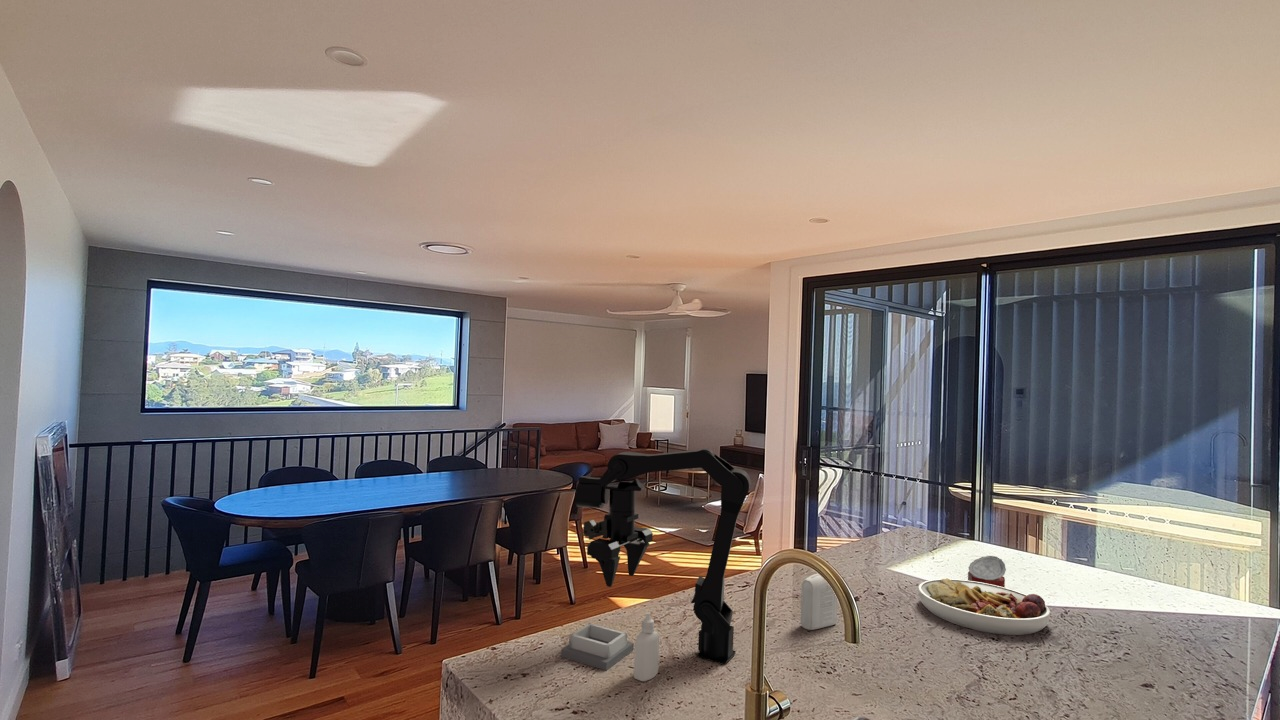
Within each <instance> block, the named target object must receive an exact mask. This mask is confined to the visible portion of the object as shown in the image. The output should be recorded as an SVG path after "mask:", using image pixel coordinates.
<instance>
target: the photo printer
mask: <svg viewBox="0 0 1280 720" xmlns="http://www.w3.org/2000/svg"><path fill="white" fill-rule="evenodd" d="M801 583H802V584H801V594H800V595H801V599H800V625H801V627H802V628H804V629H805V630H807V631H808V630H809V631H812V630H818V629H822V628H826V627H827V628H828V627H830V626H833V625H836V624H837V623H838V606H839V605H838V603H839V602H838V600H839V599H838V600H837V598H836V596H835V594H834V592H833V590H832V589H831V587H830V586H829V585H828V583H827V582H826V581H825V580H824V579H823V578H822V577H821V576H820V575H819V574H818V573H814V574H812V575H810V576H808V577H806V578H805V579H804V580H803V581H802V582H801Z"/></svg>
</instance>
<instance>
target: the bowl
mask: <svg viewBox="0 0 1280 720" xmlns="http://www.w3.org/2000/svg"><path fill="white" fill-rule="evenodd" d="M917 589H918V590H917V592H918V597H919V599H920V602H921V603H922V604H923V606H924V607H925V609H927V610H928V611H929V612H930V613H932V614H933V615H935V616H936V617H938V618H940V619H942V620H944V621H946V622H949V623H951V624H954V625H957V626H960V627H964V628H967V629H971V630H974V631H978V632H984V633H988V634H995V635H996V634H997V635H1004V636H1005V635H1006V636H1007V635H1008V636H1023V635H1024V636H1025V635H1030V634H1031V635H1032V634H1034V633H1038V632H1039V631H1041V630H1043V629H1044V628H1045V627H1046V626H1047V625H1048V623H1049V622H1050V618H1051V611H1050V608H1049V607H1048V605H1046V601H1045V600H1044V598H1042V597H1041V596H1040V595H1038V594H1035V593H1031V594H1026V593H1023V592H1020V591H1018V590H1015V589H1011V588H1008V587H1005V588H1004V587H1000V586H996V585H992V584H987V583H981V582H975V581H968V579H956V578H954V579H953V578H938V579H937V578H935V579H930V580H926V581H923V582H921V583H920V584H919V585H918V587H917Z"/></svg>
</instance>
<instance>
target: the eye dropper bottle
mask: <svg viewBox="0 0 1280 720" xmlns="http://www.w3.org/2000/svg"><path fill="white" fill-rule="evenodd" d="M659 653H660V635H659V633H658V632H657V631H655V620H654V619H653V618H652V617H651V613H650V612H646V614H645V618H642V619H641V631H640V632H639V633H638V634H637V636H636V638H635V641H634V659H633V661H634V662H633V679H635V680H637V681H640V682H646V681H649V680H652V679H654V678H655V676H657V675H658V672H659V659H660V658H659V657H660V656H659V655H660V654H659Z"/></svg>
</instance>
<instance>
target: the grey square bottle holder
mask: <svg viewBox="0 0 1280 720" xmlns="http://www.w3.org/2000/svg"><path fill="white" fill-rule="evenodd" d="M568 638H569V639H568V644H567V645H566V646H564V647H563V648H561V649H560V650H561V651H560V657H562V658H563V659H566V660H567V659H568V660H571V661H574V662H577V663H580V664H584V665H587V666H591V667H593V668H597V669H600V670H604V671H608V670H609V669H610V668H612V667H613V666H614V665H616V664H617V663H619V662H620V661H622V660H623V659H624V658H625V657H626V656H628V655H629V654H630V653H632V652H634V648H635V642H630V641H628V632H624V631H621V630H616V629H613V628H609V627H606V626H601V625H599V624H594V623H590V622H589V623H586V625H584V626H582V627H581V628H579V629H577V630H574V632H572V633H569V636H568Z"/></svg>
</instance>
